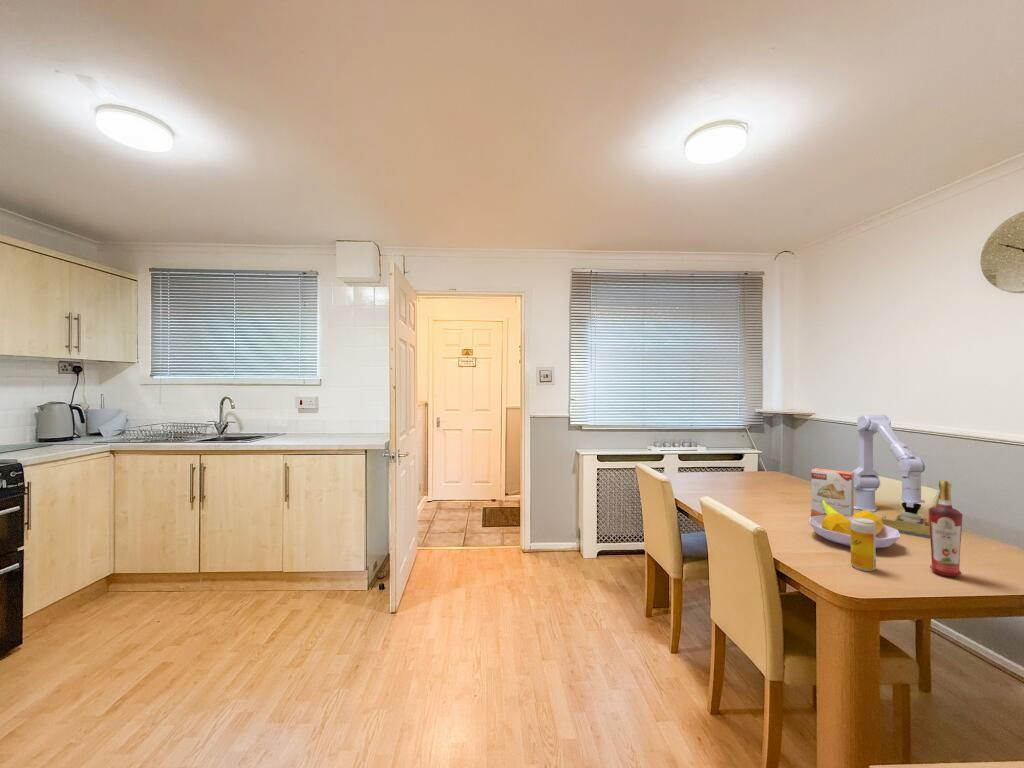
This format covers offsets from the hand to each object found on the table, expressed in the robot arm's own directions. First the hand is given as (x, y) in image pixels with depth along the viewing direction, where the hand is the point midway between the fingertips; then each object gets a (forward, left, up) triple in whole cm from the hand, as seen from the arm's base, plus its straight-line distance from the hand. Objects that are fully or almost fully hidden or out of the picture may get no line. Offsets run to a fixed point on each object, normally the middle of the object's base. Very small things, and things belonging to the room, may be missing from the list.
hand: (911, 521), depth 177 cm
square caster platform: (+6, 0, -1) cm, 6 cm away
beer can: (+65, -7, -2) cm, 65 cm away
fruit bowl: (+38, -14, -2) cm, 41 cm away
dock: (+6, 0, -2) cm, 6 cm away
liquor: (+53, +11, -2) cm, 54 cm away
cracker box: (+13, -24, -2) cm, 27 cm away
